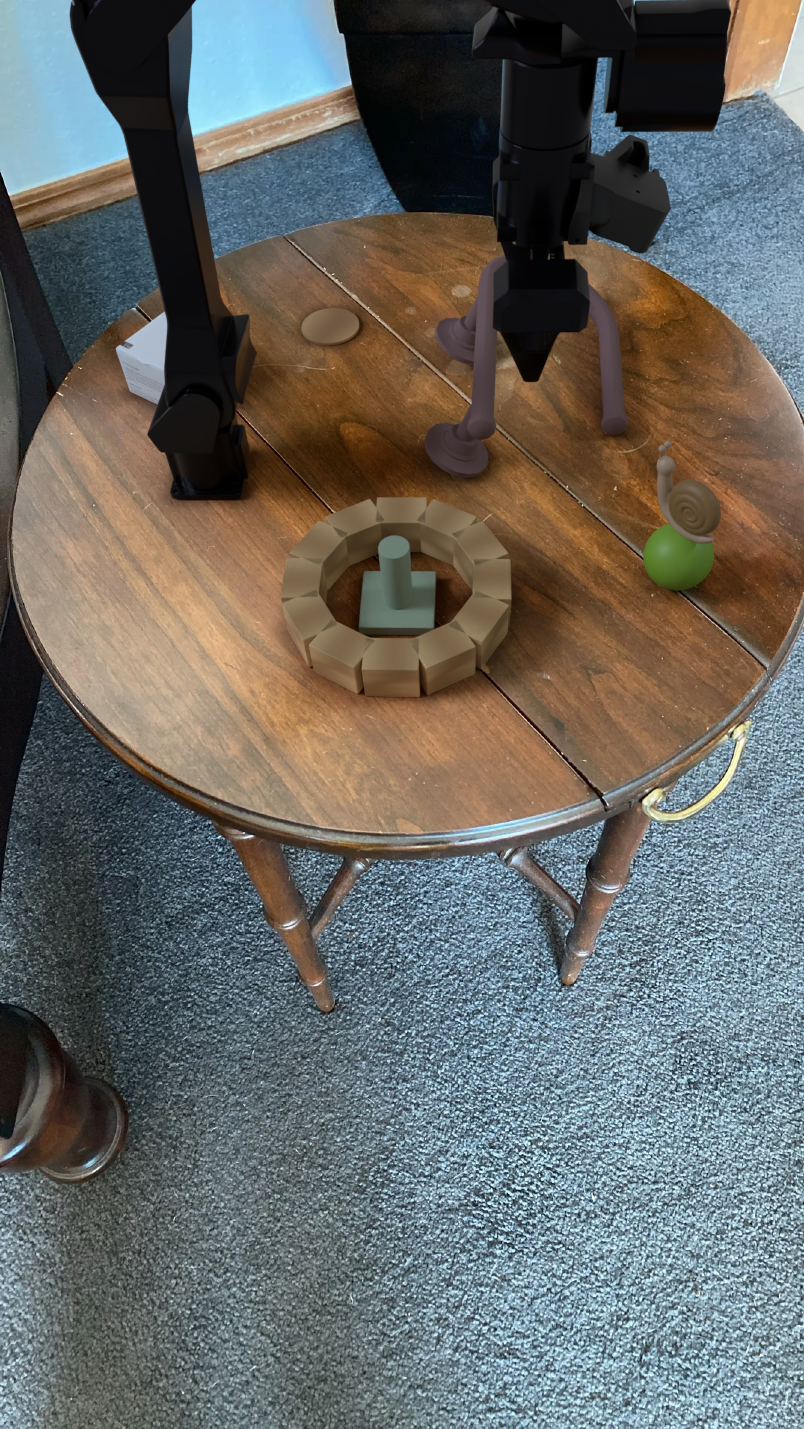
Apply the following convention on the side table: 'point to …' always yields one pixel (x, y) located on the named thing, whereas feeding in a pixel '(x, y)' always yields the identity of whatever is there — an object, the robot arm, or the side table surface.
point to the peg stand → (397, 594)
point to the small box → (145, 359)
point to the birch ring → (397, 660)
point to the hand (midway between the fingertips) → (529, 342)
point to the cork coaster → (330, 326)
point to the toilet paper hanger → (477, 346)
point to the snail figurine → (681, 530)
